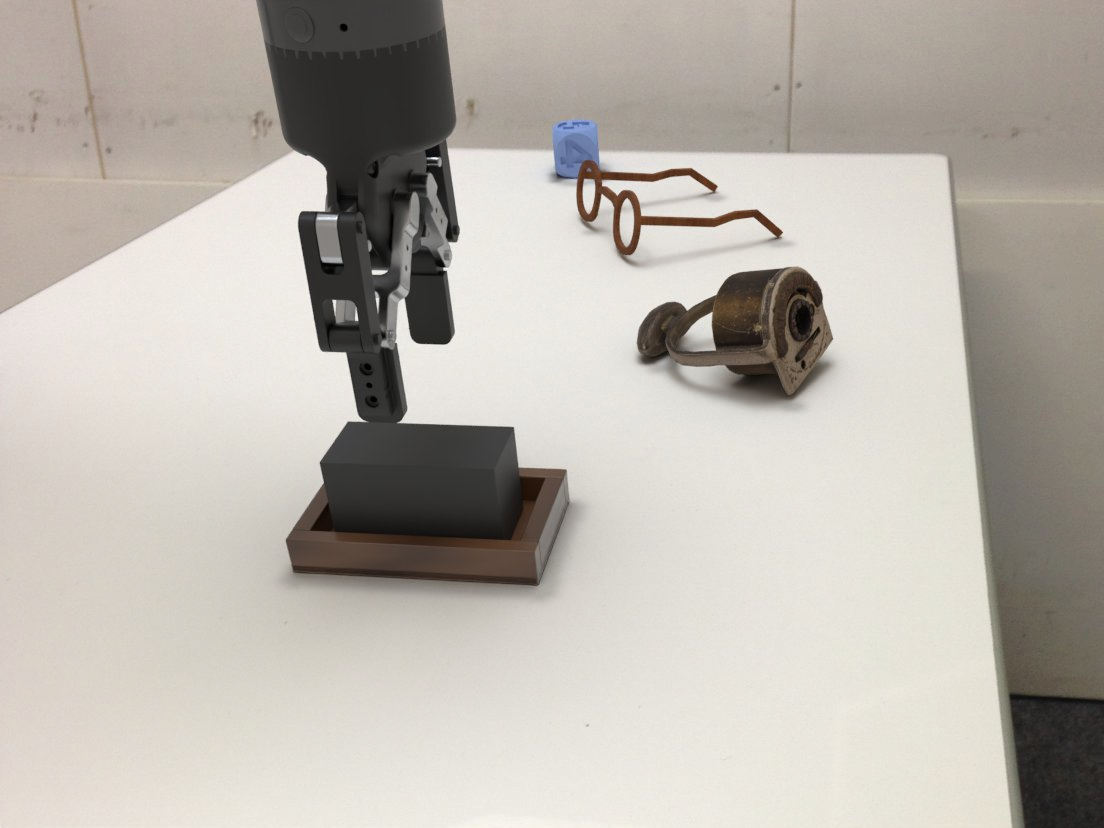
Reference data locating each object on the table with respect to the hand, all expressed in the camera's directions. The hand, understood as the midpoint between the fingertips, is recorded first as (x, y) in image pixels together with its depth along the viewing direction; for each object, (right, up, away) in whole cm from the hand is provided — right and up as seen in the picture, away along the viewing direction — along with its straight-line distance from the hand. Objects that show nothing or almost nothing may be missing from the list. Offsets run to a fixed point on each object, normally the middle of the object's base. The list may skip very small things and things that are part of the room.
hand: (410, 378), depth 63 cm
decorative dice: (+6, +30, +54) cm, 62 cm away
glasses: (+14, +21, +41) cm, 48 cm away
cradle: (0, -7, +5) cm, 9 cm away
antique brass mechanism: (+18, +5, +20) cm, 27 cm away
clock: (0, -7, +5) cm, 9 cm away
